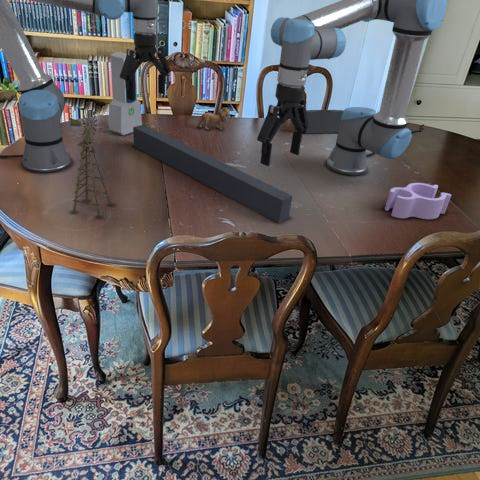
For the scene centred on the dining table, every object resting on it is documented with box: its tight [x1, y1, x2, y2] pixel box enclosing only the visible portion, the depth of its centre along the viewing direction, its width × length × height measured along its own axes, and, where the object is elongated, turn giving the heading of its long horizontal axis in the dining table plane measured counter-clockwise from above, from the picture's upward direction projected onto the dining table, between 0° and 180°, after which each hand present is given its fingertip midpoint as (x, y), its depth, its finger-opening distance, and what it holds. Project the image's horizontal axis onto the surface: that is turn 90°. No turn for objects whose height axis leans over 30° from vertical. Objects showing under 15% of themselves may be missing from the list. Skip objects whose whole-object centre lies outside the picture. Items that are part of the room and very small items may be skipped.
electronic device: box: [107, 51, 143, 136], centre depth 184 cm, size 12×8×30 cm, turn 148°
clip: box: [384, 182, 452, 220], centre depth 153 cm, size 20×12×7 cm, turn 109°
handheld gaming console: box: [302, 109, 345, 135], centre depth 210 cm, size 23×3×10 cm, turn 108°
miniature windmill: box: [69, 107, 112, 218], centre depth 129 cm, size 9×8×30 cm
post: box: [132, 124, 293, 224], centre depth 160 cm, size 72×5×8 cm, turn 47°
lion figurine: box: [196, 107, 231, 131], centre depth 201 cm, size 15×5×9 cm, turn 110°
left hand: (146, 96), depth 168 cm, fingers open, 13 cm apart
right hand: (280, 159), depth 135 cm, fingers open, 13 cm apart
